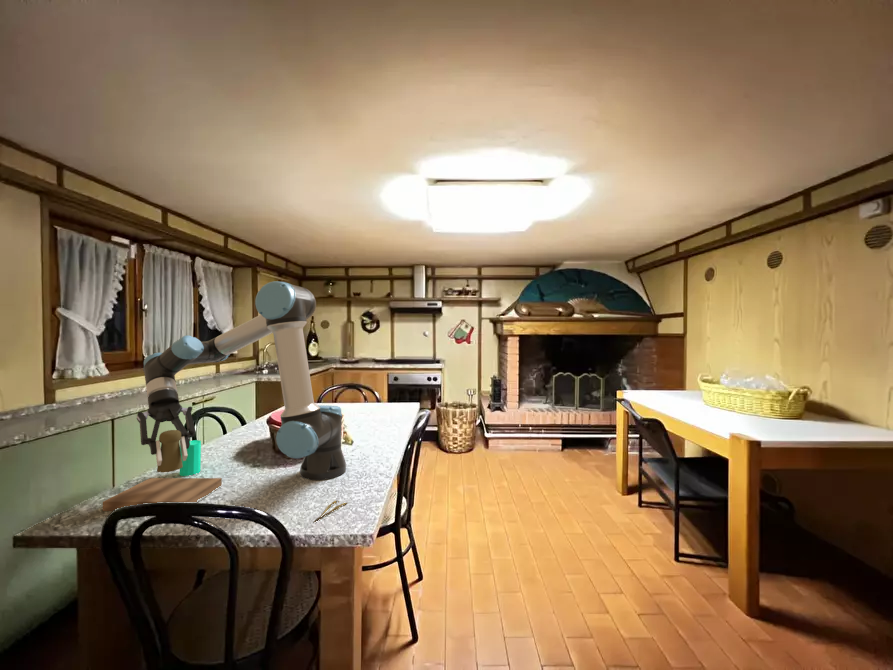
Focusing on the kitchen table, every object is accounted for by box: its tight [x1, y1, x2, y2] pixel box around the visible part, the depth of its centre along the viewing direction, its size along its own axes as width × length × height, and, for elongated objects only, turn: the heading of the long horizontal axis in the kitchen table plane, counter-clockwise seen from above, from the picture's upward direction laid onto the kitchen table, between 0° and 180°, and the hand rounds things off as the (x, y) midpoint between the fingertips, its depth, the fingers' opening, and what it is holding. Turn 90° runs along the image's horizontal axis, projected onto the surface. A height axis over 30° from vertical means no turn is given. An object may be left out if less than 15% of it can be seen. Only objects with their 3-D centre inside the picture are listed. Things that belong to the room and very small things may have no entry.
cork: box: [156, 429, 183, 473], centre depth 105 cm, size 6×6×11 cm
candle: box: [179, 437, 202, 477], centre depth 124 cm, size 6×6×12 cm
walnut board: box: [102, 477, 223, 512], centre depth 105 cm, size 22×16×2 cm
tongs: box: [313, 500, 348, 523], centre depth 97 cm, size 4×13×2 cm, turn 167°
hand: (172, 460), depth 103 cm, fingers closed on cork, 5 cm apart
